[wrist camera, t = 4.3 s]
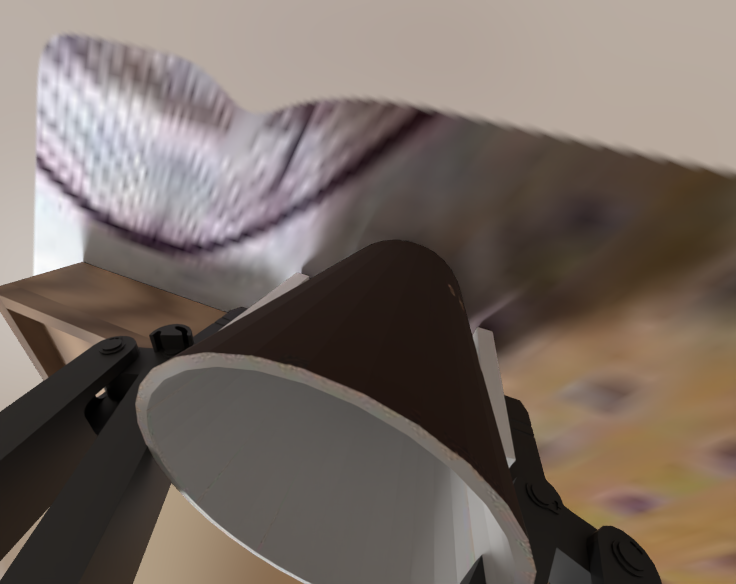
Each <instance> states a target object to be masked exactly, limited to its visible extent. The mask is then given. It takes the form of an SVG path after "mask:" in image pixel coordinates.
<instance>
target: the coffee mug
mask: <svg viewBox="0 0 736 584" xmlns="http://www.w3.org/2000/svg"><path fill="white" fill-rule="evenodd" d="M135 406H136V414H137V423H138V426H139V428H140V431H141V434H142V436H143V439H144V442H145V444H146V445H147V446H148V448H149V450H150V452H151V454H152V456H153V458H154V460H155V461H156V463H157V464H158V466H159V467H160V468H161V470H162V471H163V472H164V474H165V475H166V476H167V478H168V479H169V480H170V482H171V483H172V484H173V485H174V486H175V487H176V488H177V489H178V490H179V492H180V493H181V494H182V495H183V496H184V497H185V498H186V499H187V500H188V501H189V502H190V503H191V504H192V505H193V506H194V507H195V508H196V509H197V510H198V511H199V512H201V514H203V515H204V516H205V517H206V518H207V519H208V520H209V521H210V522H212V523H213V524H214V525H215V526H216V527H218V528H219V529H220V530H221V531H223V532H224V533H225V534H226V535H228V536H229V537H230V538H232V539H233V540H234V541H236V542H237V543H239V544H240V545H241V546H243V547H244V548H246V549H247V550H248V551H250V552H251V553H253V554H254V555H256V556H257V557H259V558H261V559H262V560H264V561H265V562H267V563H269V564H270V565H272V566H273V567H275V568H277V569H279V570H280V571H283V572H284V573H286V574H288V575H290V576H291V577H293V578H295V579H297V580H299V581H300V582H302V583H304V584H460V582H461V581H462V580H463V578H464V577H465V575H466V574H467V573H468V571H469V570H470V568H471V567H472V566H473V564H474V563H475V562H476V560H477V559H478V558H479V557H480V556H481V555H482V558H483V565H484V571H485V578H486V584H534V581H535V577H536V572H537V571H536V567H535V563H534V559H533V555H532V551H531V547H530V543H529V539H528V535H527V532H526V528H525V524H524V521H523V517H522V514H521V510H520V506H519V503H518V499H517V495H516V492H515V488H514V485H513V481H512V477H511V474H510V470H509V466H508V463H507V459H506V456H505V452H504V448H503V445H502V441H501V438H500V434H499V430H498V427H497V423H496V419H495V416H494V412H493V409H492V405H491V401H490V398H489V394H488V390H487V387H486V383H485V380H484V376H483V372H482V369H481V365H480V362H479V358H478V354H477V351H476V347H475V343H474V340H473V336H472V333H471V329H470V325H469V322H468V318H467V314H466V311H465V307H464V304H463V300H462V296H461V293H460V289H459V286H458V282H457V280H456V278H455V276H454V274H453V272H452V270H451V269H450V267H449V266H448V265H447V264H446V263H445V261H444V260H443V259H442V258H440V257H439V256H438V255H437V254H435V253H434V252H433V251H431V250H429V249H427V248H426V247H424V246H422V245H419V244H416V243H413V242H409V241H402V240H387V241H381V242H377V243H374V244H371V245H369V246H367V247H365V248H364V249H362V250H360V251H358V252H356V253H355V254H353V255H351V256H349V257H348V258H346V259H344V260H342V261H341V262H339V263H337V264H335V265H334V266H332V267H330V268H328V269H327V270H325V271H323V272H321V273H320V274H318V275H316V276H314V277H312V278H311V279H309V280H307V281H305V282H304V283H302V284H300V285H298V286H297V287H295V288H293V289H291V290H290V291H288V292H286V293H284V294H283V295H281V296H279V297H277V298H276V299H274V300H272V301H270V302H268V303H267V304H265V305H263V306H261V307H260V308H258V309H256V310H254V311H253V312H251V313H249V314H247V315H246V316H244V317H242V318H240V319H239V320H237V321H235V322H233V323H232V324H230V325H228V326H226V327H225V328H223V329H221V330H219V331H217V332H216V333H214V334H212V335H210V336H209V337H207V338H205V339H203V340H202V341H200V342H198V343H196V344H195V345H193V346H191V347H189V348H188V349H186V350H184V351H182V352H181V353H179V354H177V355H175V356H173V357H172V358H170V359H168V360H166V361H165V362H163V363H161V364H159V365H158V366H156V367H154V368H152V369H151V371H150V372H149V373H148V374H147V376H146V377H145V378H144V380H143V381H142V382H141V383H140V385H139V389H138V393H137V397H136V402H135Z"/></svg>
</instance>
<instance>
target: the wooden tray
mask: <svg viewBox="0 0 736 584" xmlns="http://www.w3.org/2000/svg"><path fill="white" fill-rule="evenodd" d="M0 312H1V314H2V315H3V317H4V318H5V320H6V321H7V323H8V325H9V326H10V328H11V330H12V331H13V333H14V334H15V336H16V337H17V339H18V341H19V342H20V344H21V345H22V347H23V348H24V350H25V351H26V353H27V355H28V356H29V358H30V360H31V361H32V363H33V364H34V366H35V368H36V369H37V371H38V372H39V374H40V376H41V377H42V379H43V380H46V379H47V378H48V377H50V376H51V375H53V374H54V373H55V372H57V371H58V370H60V369H61V368H62V367H64V366H65V365H67V364H68V363H69V362H71V361H72V360H74V359H75V358H76V357H78V356H79V355H81V354H82V353H83V352H85V351H86V350H88V349H89V348H90V347H92V346H93V345H95V344H96V343H98V342H100V341H102V340H104V339H107V338H110V337H115V336H129V337H132V338H134V339H135V341H136V343H137V346H138V347H143V348H153V347H152V343H151V340H150V337H149V335H150V334H151V333H152V332H153V331H154V330H156V329H158V328H160V327H162V326H166V325H170V324H183V325H186V326H188V327H190V329H191V330H192V334H193V337H194V336H195V335H196V334H198V333H199V332H201V331H202V330H204V329H205V328H206V327H208V326H209V325H211V324H212V323H215V321H217V320H218V319H219V318H222V316H224V315H225V314H227V313H226V312H223V311H221V310H218V309H215V308H212V307H209V306H206V305H203V304H201V303H198V302H195V301H192V300H189V299H186V298H184V297H181V296H178V295H175V294H172V293H169V292H166V291H164V290H161V289H158V288H155V287H152V286H149V285H147V284H144V283H141V282H138V281H135V280H132V279H129V278H127V277H124V276H121V275H118V274H115V273H112V272H110V271H107V270H104V269H101V268H98V267H95V266H92V265H90V264H87V263H84V262H81V263H77V264H74V265H70V266H67V267H63V268H60V269H57V270H53V271H50V272H46V273H43V274H39V275H36V276H33V277H30V278H26V279H22V280H19V281H16V282H12V283H9V284H5V285H2V286H0ZM104 392H105V390H104V388H103V389H102V390H101V391H100V392H99V393H97V394H96V397H98V396H100V395H101V394H103V393H104Z"/></svg>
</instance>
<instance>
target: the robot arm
mask: <svg viewBox="0 0 736 584" xmlns="http://www.w3.org/2000/svg"><path fill="white" fill-rule="evenodd" d="M307 280H309V276H307V275H304V274H300V273H296V274H294V275H293V276H292V277H290V278H289V279H287V280H286V281H285V282H283V283H282V284H281V285H279V286H278V287H277V288H275V289H274V290H273V291H271V292H270V293H269V294H267V295H266V296H265V297H263V298H262V299H261V300H259V301H258V302H257V303H255V304H254V305H253V306H251V307H250V308H248V309H247V308H244V307H240V308H237V309H234V310H231V311H229V312H228V313H227V314H225V315H224V316H222V318H219V319H218V320H217V321H215V323H212V324H211V325H209V326H208V327H206V328H205V329H204V330H202V331H201V332H199V333H198V334H196V335H195V336H194V337H193V334H192V330H191V329H190V327H188V326H186V325H183V324H170V325H166V326H162V327H160V328H158V329H156V330H154V331H153V332H152V333H151V334H150V335H149V337H150V340H151V343H152V347H153V348H143V347H138V346H137V343H136V341H135V339H134V338H132V337H129V336H115V337H110V338H107V339H104V340H102V341H100V342H98V343H96V344H95V345H93V346H92V347H90V348H89V349H88V350H86V351H85V352H83V353H82V354H81V355H79V356H78V357H76V358H75V359H74V360H72V361H71V362H69V363H68V364H67V365H65V366H64V367H62V368H61V369H60V370H58V371H57V372H55V373H54V374H53V375H51V376H50V377H48V378H47V379H46V380H44V381H43V382H41V383H40V384H39V385H37V386H36V387H35V388H33V389H32V390H30V391H29V392H27V393H26V394H25V395H23V396H22V397H20V398H19V399H18V400H16V401H15V402H13V403H12V404H11V405H9V406H8V407H6V408H5V409H4V410H2V411H1V412H0V561H1V560H2V559H3V557H4V556H5V555H6V554H7V553H8V552H9V551H10V550H11V549H12V548H13V547H14V545H15V544H16V543H17V542H18V541H19V540H20V539H21V538H22V537H23V536H24V534H25V533H26V532H27V531H28V530H29V529H30V528H31V527H32V526H33V524H34V523H35V522H36V521H37V520H38V519H39V518H40V517H41V516H42V515H43V513H44V512H45V511H46V510H47V509H48V508H49V507H50V508H49V509H48V511H47V512H46V513H45V515H44V517H43V518H42V519H41V521H40V522H39V524H38V525H37V527H36V529H35V530H34V531H33V533H32V534H31V536H30V537H29V539H28V540H27V542H26V543H25V545H24V547H23V548H22V549H21V550H20V552H19V553H18V555H17V556H16V558H15V559H14V561H13V562H12V564H11V565H10V567H9V568H8V570H7V571H6V573H5V574H4V576H3V577H2V579H1V580H0V584H133V581H134V579H135V576H136V574H137V571H138V569H139V566H140V563H141V561H142V558H143V555H144V553H145V550H146V548H147V545H148V542H149V540H150V537H151V535H152V532H153V529H154V527H155V524H156V522H157V519H158V516H159V514H160V511H161V509H162V506H163V503H164V501H165V498H166V495H167V493H168V490H169V488H170V485H171V482H170V480H169V479H168V478H167V476H166V475H165V474H164V472H163V471H162V470H161V468H160V467H159V466H158V464H157V463H156V461H155V460H154V458H153V456H152V454H151V452H150V450H149V448H148V446H147V445H146V444H145V442H144V439H143V436H142V434H141V431H140V428H139V426H138V423H137V414H136V406H135V402H136V397H137V393H138V389H139V385H140V383H141V382H142V381H143V380H144V378H145V377H146V376H147V374H148V373H149V372H150V371H151V369H152V368H154V367H156V366H158V365H159V364H161V363H163V362H165V361H166V360H168V359H170V358H172V357H173V356H175V355H177V354H179V353H181V352H182V351H184V350H186V349H188V348H189V347H191V346H193V345H195V344H196V343H198V342H200V341H202V340H203V339H205V338H207V337H209V336H210V335H212V334H214V333H216V332H217V331H219V330H221V329H223V328H225V327H226V326H228V325H230V324H232V323H233V322H235V321H237V320H239V319H240V318H242V317H244V316H246V315H247V314H249V313H251V312H253V311H254V310H256V309H258V308H260V307H261V306H263V305H265V304H267V303H268V302H270V301H272V300H274V299H276V298H277V297H279V296H281V295H283V294H284V293H286V292H288V291H290V290H291V289H293V288H295V287H297V286H298V285H300V284H302V283H304V282H305V281H307ZM473 340H474V343H475V347H476V351H477V354H478V358H479V362H480V365H481V369H482V372H483V376H484V380H485V383H486V387H487V390H488V394H489V398H490V401H491V405H492V409H493V412H494V416H495V419H496V423H497V427H498V430H499V434H500V438H501V441H502V445H503V448H504V452H505V456H506V459H507V463H508V466H509V470H510V474H511V477H512V481H513V485H514V488H515V492H516V495H517V499H518V503H519V506H520V510H521V514H522V517H523V521H524V524H525V528H526V532H527V535H528V539H529V543H530V547H531V551H532V555H533V559H534V563H535V567H536V571H537V572H536V577H535V581H534V584H662V583H661V579H660V576H659V574H658V572H657V570H656V567H655V565H654V563H653V562H652V560H651V559H650V558H649V556H648V555H647V553H646V552H645V550H644V549H643V548H642V547H641V546H640V545H639V544H638V543H637V542H636V541H635V540H634V539H633V538H631V537H630V536H629V535H627V534H626V533H625V532H623V531H622V530H620V529H617V528H615V527H613V526H602V527H601V528H600V529H598V530H597V529H596V528H594V527H593V526H591V525H590V524H589V523H587V522H586V521H584V520H583V519H581V518H580V517H579V516H577V515H576V514H574V513H573V512H571V511H570V510H569V509H568V508H566V507H565V506H564V505H563V503H562V500H561V498H560V496H559V495H558V493H557V492H556V490H555V489H554V487H553V486H552V485H551V484H550V483H549V482H548V481H546V479H545V476H544V472H543V468H542V464H541V460H540V457H539V453H538V449H537V445H536V441H535V438H534V434H533V430H532V427H531V422H530V418H529V414H528V412H527V410H526V409H525V407H524V406H523V404H522V403H521V401H520V400H517V399H514V398H511V397H508V396H505V395H504V392H503V387H502V381H501V376H500V370H499V365H498V359H497V353H496V348H495V342H494V337H493V332H492V331H489V330H486V329H482V328H479V327H477V328H476V330H475V333H474V335H473ZM103 388H104V390H105V392H104V393H103V394H101V395H100V396H98V397H96V394H97V393H99V392H100V391H101V390H102V389H103ZM460 584H486V578H485V571H484V565H483V558H482V555H481V556H480V557H479V558H478V559H477V560H476V562H475V563H474V564H473V566H472V567H471V568H470V570H469V571H468V573H467V574H466V575H465V577H464V578H463V580H462V581H461V582H460Z"/></svg>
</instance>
